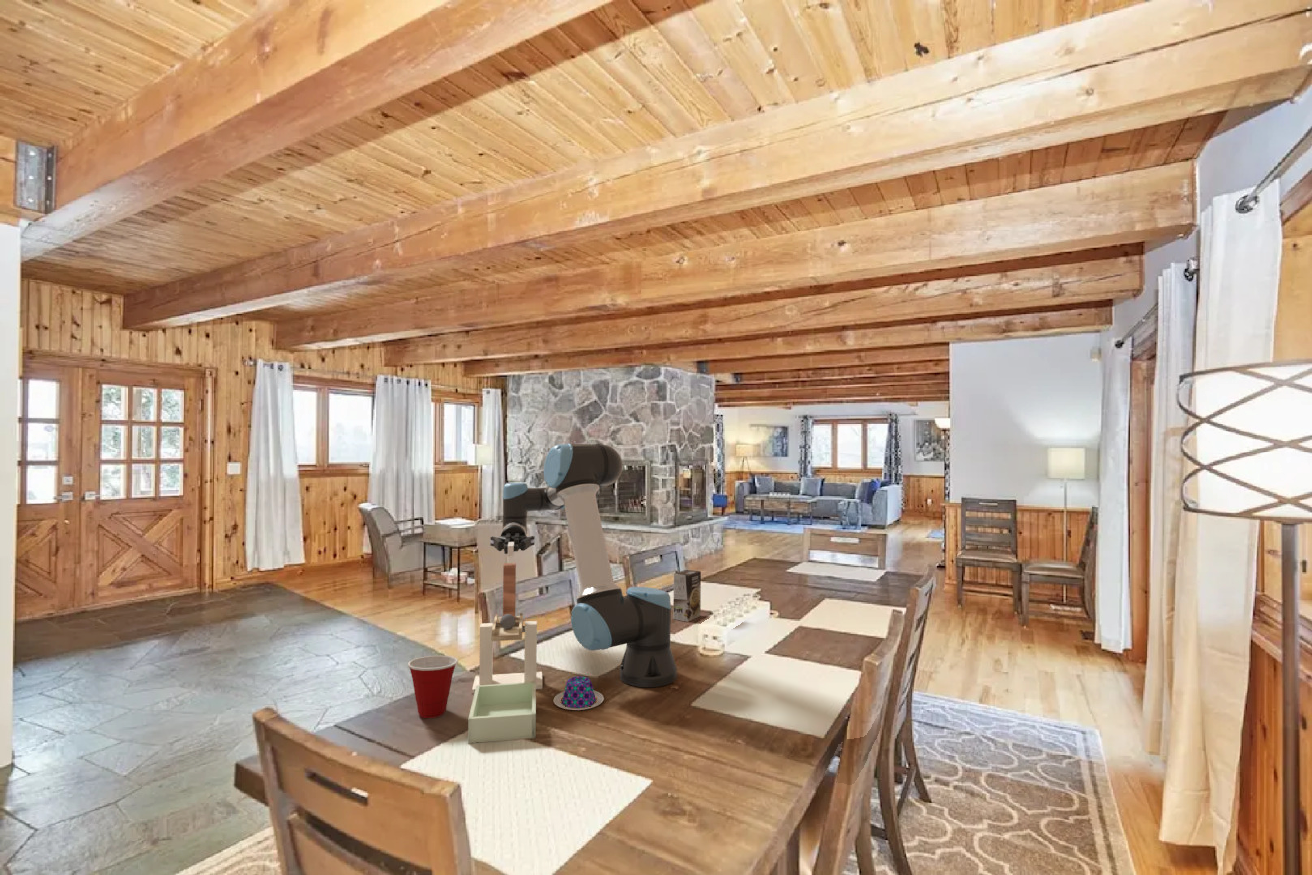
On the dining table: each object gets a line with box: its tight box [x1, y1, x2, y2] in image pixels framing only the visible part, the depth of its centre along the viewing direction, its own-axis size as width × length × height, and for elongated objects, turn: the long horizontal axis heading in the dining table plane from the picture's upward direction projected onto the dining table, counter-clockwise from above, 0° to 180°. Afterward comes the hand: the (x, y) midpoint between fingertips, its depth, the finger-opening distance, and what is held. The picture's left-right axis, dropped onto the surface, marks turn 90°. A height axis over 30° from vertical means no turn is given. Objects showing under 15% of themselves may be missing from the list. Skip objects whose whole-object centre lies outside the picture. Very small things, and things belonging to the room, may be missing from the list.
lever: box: [491, 562, 524, 642], centre depth 154 cm, size 16×7×15 cm, turn 11°
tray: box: [467, 682, 537, 744], centre depth 137 cm, size 18×14×5 cm
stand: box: [471, 620, 543, 694], centre depth 159 cm, size 9×17×16 cm, turn 101°
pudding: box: [553, 675, 605, 711], centre depth 149 cm, size 12×12×5 cm
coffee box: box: [672, 569, 702, 623], centre depth 219 cm, size 9×6×16 cm
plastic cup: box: [407, 655, 459, 719], centre depth 142 cm, size 11×11×12 cm
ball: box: [500, 614, 515, 629], centre depth 151 cm, size 4×4×4 cm
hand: (510, 551), depth 166 cm, fingers closed
